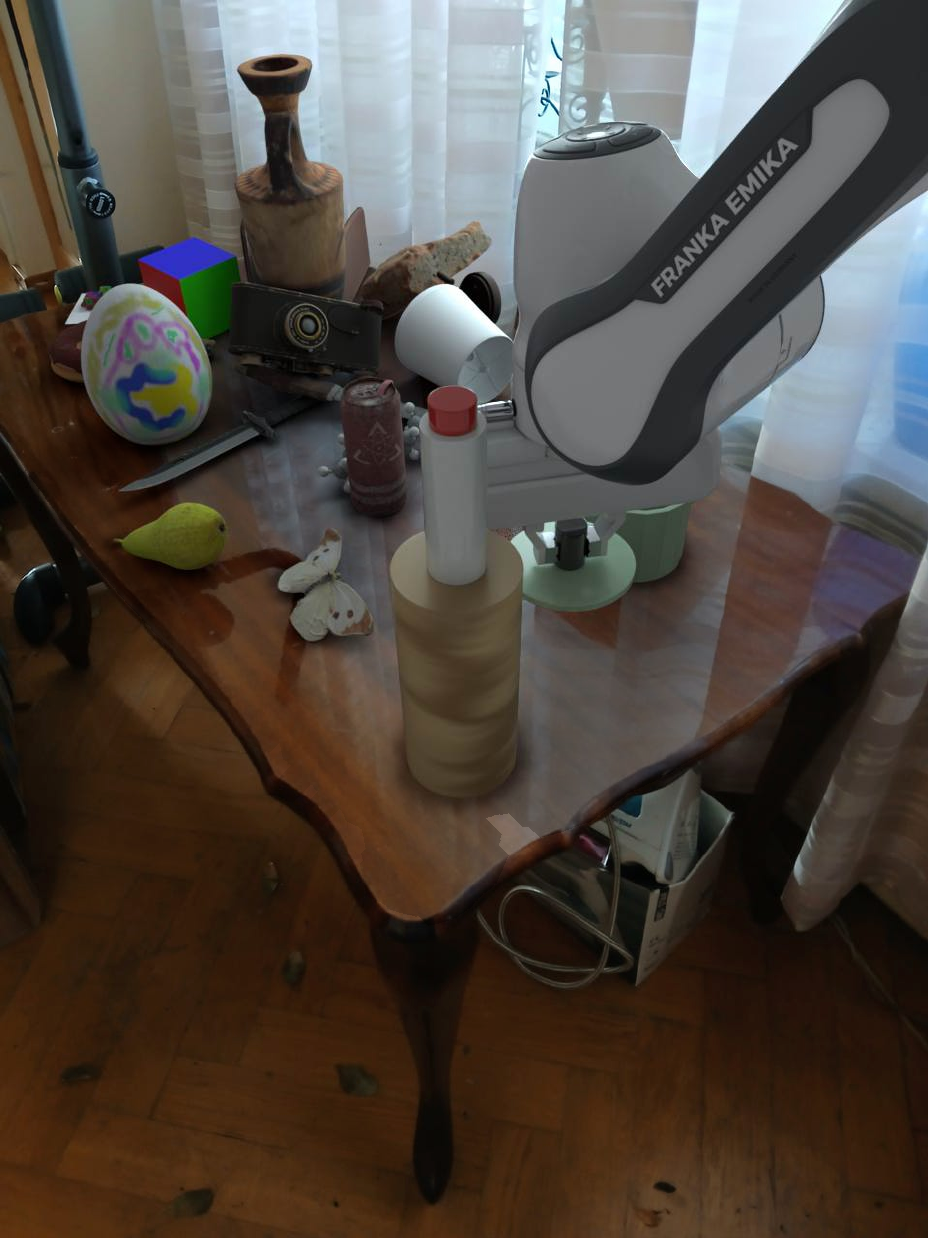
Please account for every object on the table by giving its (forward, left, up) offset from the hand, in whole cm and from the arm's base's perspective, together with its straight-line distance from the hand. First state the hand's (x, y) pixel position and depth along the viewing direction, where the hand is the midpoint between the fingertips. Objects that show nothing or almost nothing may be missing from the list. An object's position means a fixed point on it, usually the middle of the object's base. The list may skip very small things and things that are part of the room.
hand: (569, 555), depth 73 cm
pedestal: (+10, +10, -9) cm, 17 cm away
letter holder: (+15, -64, -9) cm, 66 cm away
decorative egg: (+33, -39, -9) cm, 51 cm away
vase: (+16, -49, -9) cm, 53 cm away
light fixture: (+4, -52, -4) cm, 52 cm away
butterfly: (+18, -8, -9) cm, 22 cm away
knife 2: (+12, -37, -8) cm, 39 cm away
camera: (+15, -45, +1) cm, 47 cm away
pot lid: (0, 0, -1) cm, 1 cm away
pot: (-9, -10, -9) cm, 16 cm away
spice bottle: (+10, +10, +9) cm, 17 cm away
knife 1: (+24, -31, -8) cm, 40 cm away
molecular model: (+10, -25, -7) cm, 27 cm away
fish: (+33, -48, -4) cm, 59 cm away
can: (+12, -21, -9) cm, 26 cm away
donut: (+40, -52, -9) cm, 66 cm away
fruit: (+26, -15, -5) cm, 30 cm away
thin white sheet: (+41, -67, -9) cm, 79 cm away
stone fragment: (-5, -61, -1) cm, 61 cm away
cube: (+29, -61, -9) cm, 68 cm away
